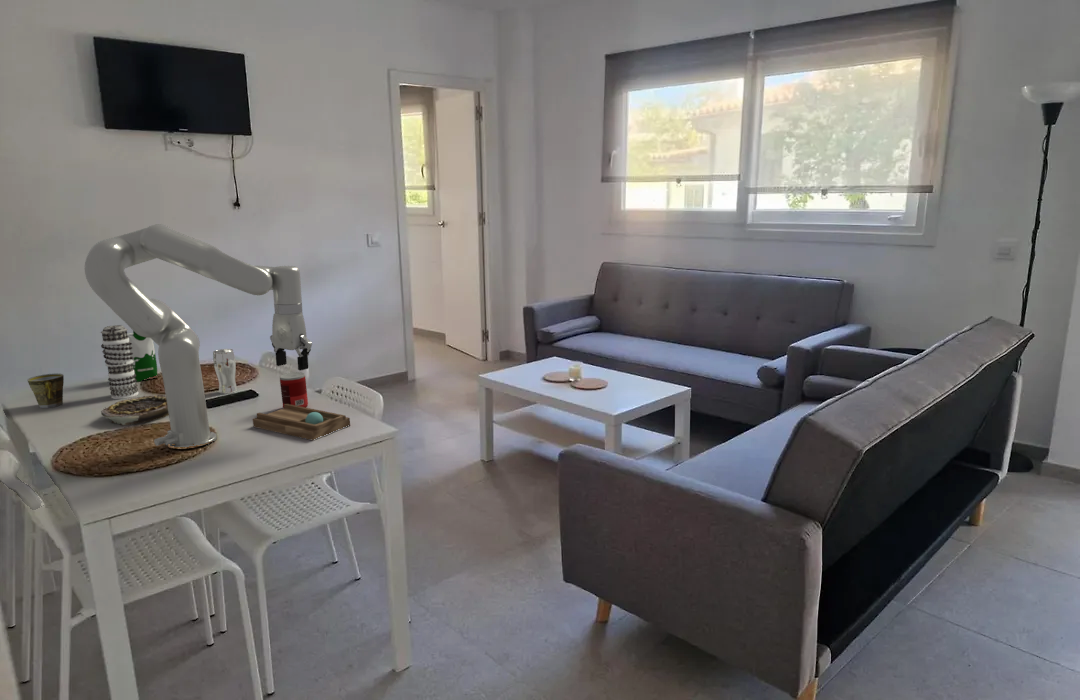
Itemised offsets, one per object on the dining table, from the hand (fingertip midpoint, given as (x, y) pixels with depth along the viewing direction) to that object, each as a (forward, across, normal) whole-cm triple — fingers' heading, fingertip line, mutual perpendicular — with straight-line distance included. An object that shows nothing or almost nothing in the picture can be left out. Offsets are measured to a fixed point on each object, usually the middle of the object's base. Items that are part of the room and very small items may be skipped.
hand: (292, 367), depth 198 cm
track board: (+18, +1, +2) cm, 18 cm away
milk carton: (+21, -102, +10) cm, 104 cm away
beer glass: (+19, -55, +14) cm, 60 cm away
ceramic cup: (+22, -94, -26) cm, 100 cm away
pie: (+21, -55, -17) cm, 61 cm away
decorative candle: (+21, -84, -7) cm, 87 cm away
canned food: (+19, -17, +13) cm, 28 cm away
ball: (+16, +6, +2) cm, 17 cm away
